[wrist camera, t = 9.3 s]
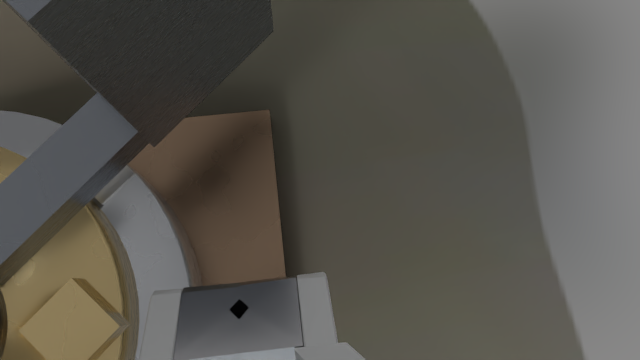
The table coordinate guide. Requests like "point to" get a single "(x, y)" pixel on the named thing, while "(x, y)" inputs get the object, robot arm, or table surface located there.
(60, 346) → the grey and yellow model
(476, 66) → the table surface
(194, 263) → the housing
